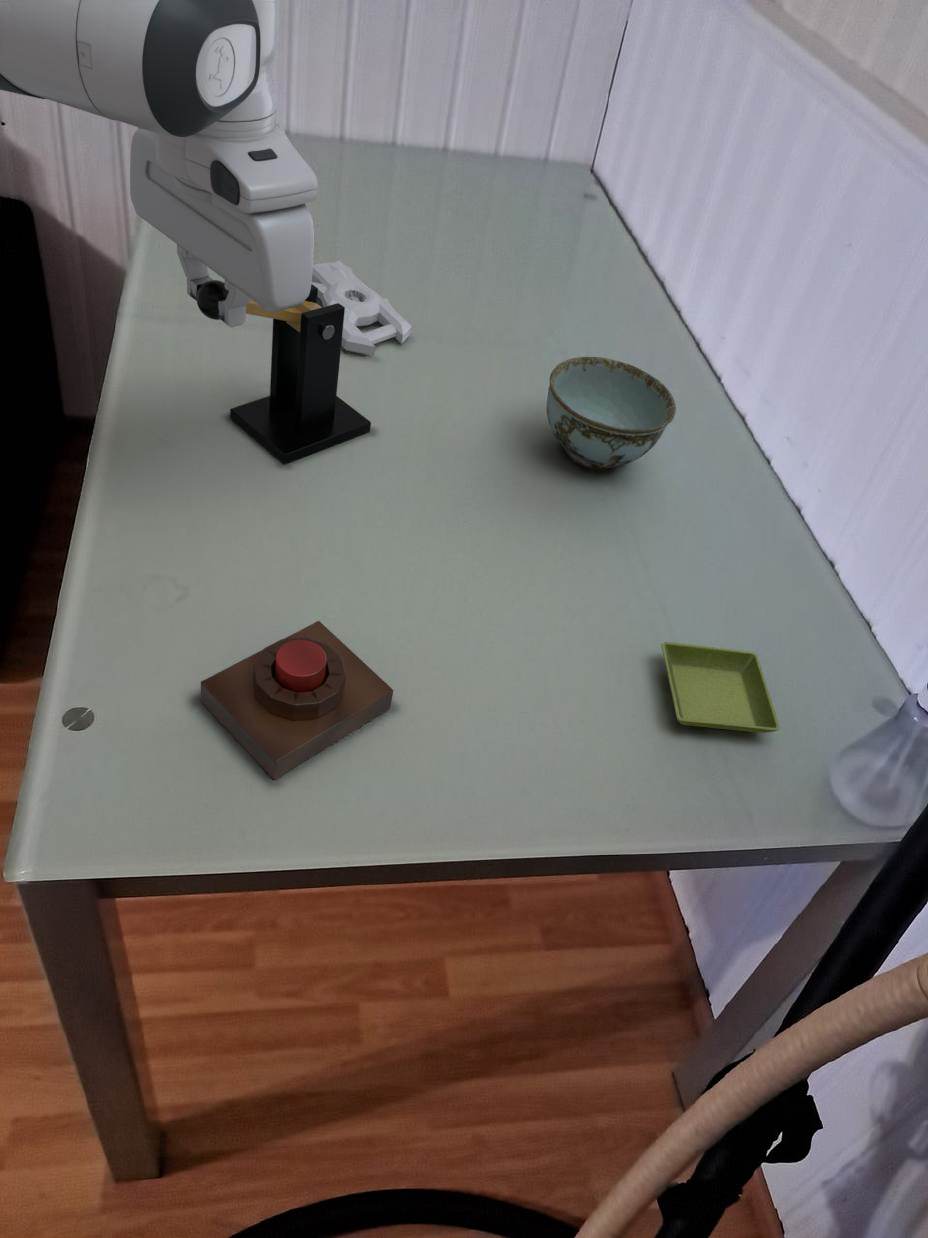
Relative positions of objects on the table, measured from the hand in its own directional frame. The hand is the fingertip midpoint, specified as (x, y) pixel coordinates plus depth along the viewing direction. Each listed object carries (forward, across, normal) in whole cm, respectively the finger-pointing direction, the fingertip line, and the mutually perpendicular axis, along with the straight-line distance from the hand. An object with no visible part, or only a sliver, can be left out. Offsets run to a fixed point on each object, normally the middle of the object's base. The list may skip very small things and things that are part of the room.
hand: (216, 310), depth 82 cm
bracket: (+15, 0, +10) cm, 18 cm away
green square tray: (+15, +49, +15) cm, 54 cm away
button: (+12, +29, -13) cm, 34 cm away
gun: (+15, -15, +29) cm, 36 cm away
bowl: (+15, +20, +34) cm, 42 cm away
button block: (+15, +29, -13) cm, 35 cm away
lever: (+3, 0, +4) cm, 5 cm away
